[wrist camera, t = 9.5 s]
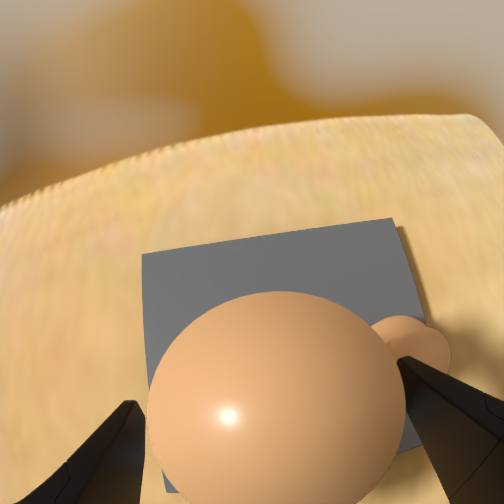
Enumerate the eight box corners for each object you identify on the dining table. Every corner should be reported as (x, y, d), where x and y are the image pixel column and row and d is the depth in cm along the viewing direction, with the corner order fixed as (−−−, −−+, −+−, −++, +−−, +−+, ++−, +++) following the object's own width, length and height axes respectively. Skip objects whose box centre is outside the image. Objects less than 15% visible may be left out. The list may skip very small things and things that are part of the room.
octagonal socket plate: (434, 431, 15) (491, 439, 9) (173, 485, 15) (137, 521, 9) (385, 227, 22) (418, 176, 16) (148, 262, 21) (112, 217, 15)
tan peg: (319, 403, 16) (443, 432, 4) (254, 443, 15) (237, 562, 3) (278, 343, 17) (314, 247, 6) (214, 382, 16) (106, 368, 5)
